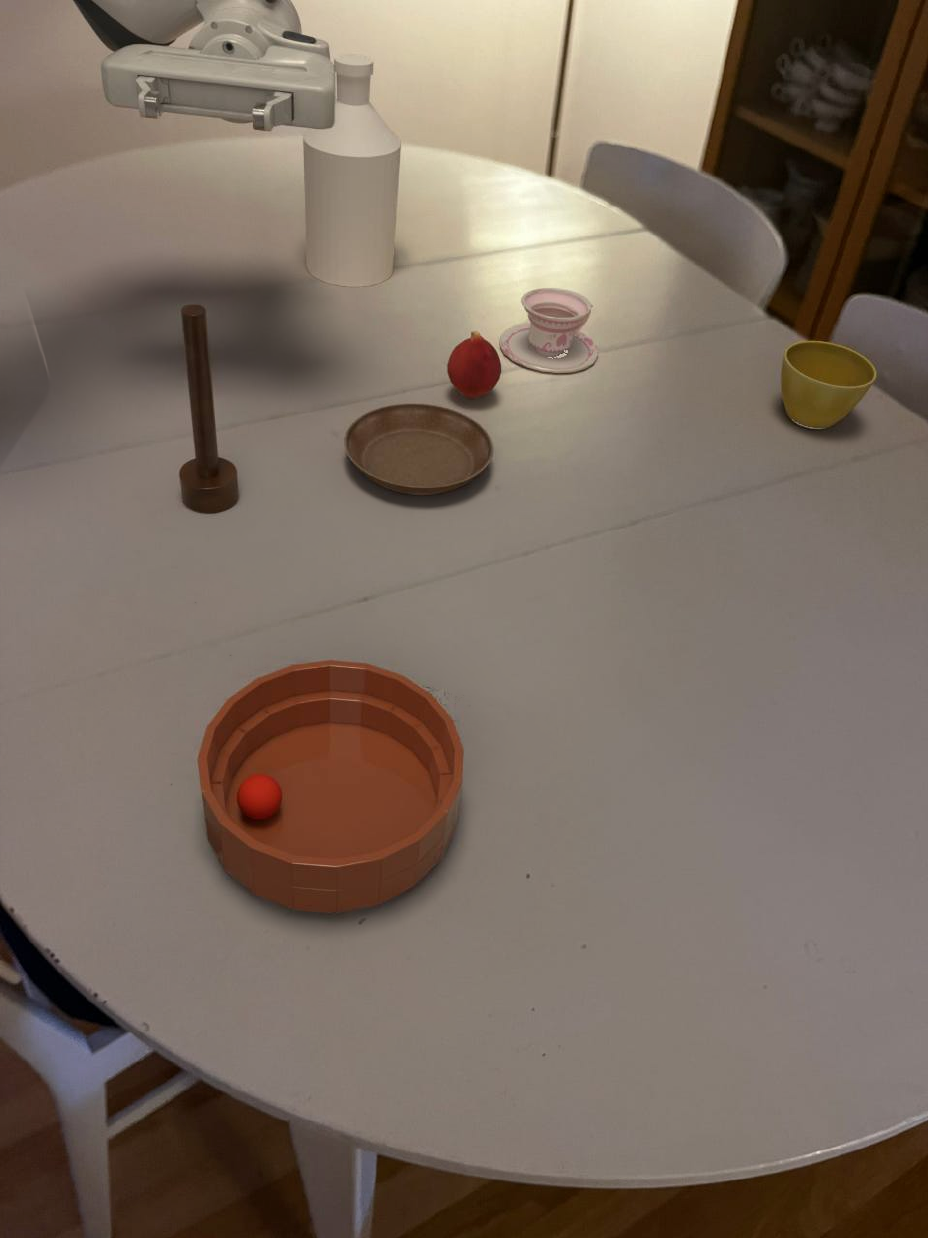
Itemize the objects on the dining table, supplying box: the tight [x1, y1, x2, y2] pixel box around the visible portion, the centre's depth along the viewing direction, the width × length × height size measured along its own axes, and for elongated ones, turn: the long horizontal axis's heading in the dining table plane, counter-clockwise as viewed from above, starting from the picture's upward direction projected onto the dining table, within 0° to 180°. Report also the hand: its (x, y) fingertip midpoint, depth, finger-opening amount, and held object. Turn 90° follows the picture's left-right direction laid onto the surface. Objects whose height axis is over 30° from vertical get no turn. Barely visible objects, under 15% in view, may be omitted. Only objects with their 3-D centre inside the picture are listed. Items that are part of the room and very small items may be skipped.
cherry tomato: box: [237, 774, 282, 819], centre depth 69 cm, size 3×3×3 cm
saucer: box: [343, 403, 494, 496], centre depth 102 cm, size 15×15×3 cm
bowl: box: [196, 659, 465, 914], centre depth 69 cm, size 17×17×6 cm
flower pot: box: [780, 340, 877, 429], centre depth 115 cm, size 10×10×7 cm
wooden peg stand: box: [178, 303, 240, 514], centre depth 90 cm, size 5×5×19 cm
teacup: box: [499, 287, 599, 374], centre depth 121 cm, size 12×12×6 cm
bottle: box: [302, 53, 402, 288], centre depth 126 cm, size 12×12×25 cm
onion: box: [446, 330, 502, 400], centre depth 111 cm, size 6×6×8 cm
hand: (204, 114), depth 85 cm, fingers open, 8 cm apart
